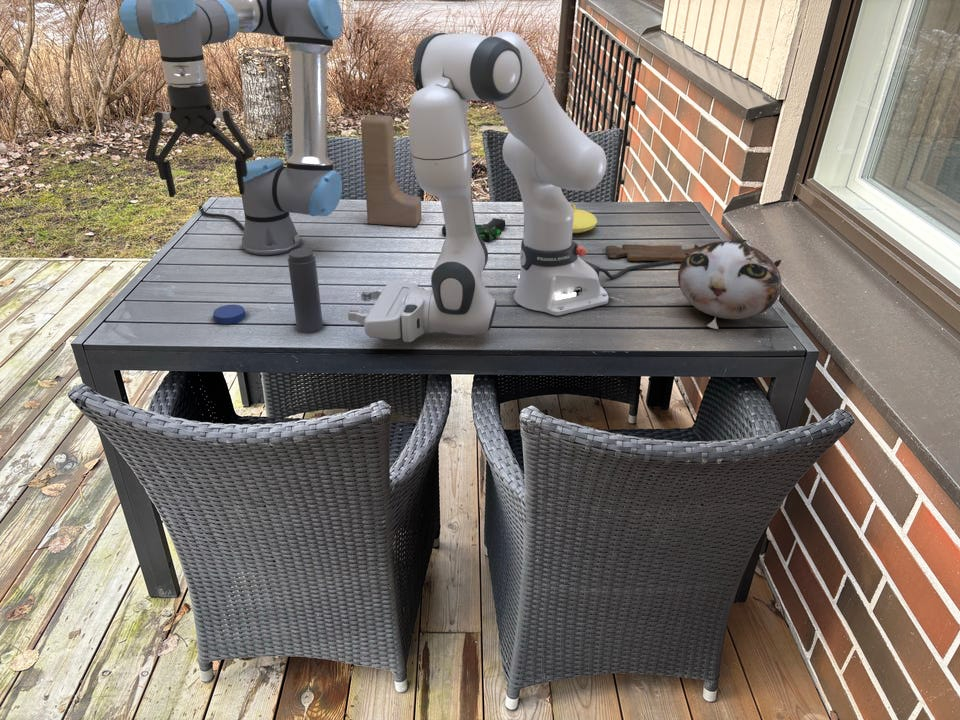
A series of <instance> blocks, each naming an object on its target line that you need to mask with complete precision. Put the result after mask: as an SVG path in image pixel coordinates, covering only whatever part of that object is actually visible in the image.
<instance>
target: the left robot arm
mask: <svg viewBox="0 0 960 720" xmlns="http://www.w3.org/2000/svg"><path fill="white" fill-rule="evenodd" d="M118 15H119V18H120V19H119V20H120V24H121V27H122V29H123V30H124V31H125V33H126V34H127V35H128V36H129V37H131V38H133V39H136V40H137V39H138V40H143V41H157V43H158V48H159V52H160V59H161V65H162V70H163V75H164V81H165V83H167V84H168V86H167V87H166V90H167V95H168V101H169V105H170V106H169V107H170V111H163V110H162V109H158V110H156V111H155V113H154V114H153V117H154V127H153V131H152V133H151V137H150V140H149V144H148V147H147V149H146V150H147V151H146V155H145V160H146V161H147V162H152V163H154V164H156V166H157V170H158V175H159V178H160V180H161V181H165V182H166V183H165V184H166V187H167V191H168V196H169V198H174V197H175V195H176V194H177V191H176V186H175V182H174V177H173V173H172V167H171V161H169V160H166V159H167V158H168V155H169V153H171V150H173V148H174V147H175V145H176V143H177V142H178V140H179V139H180V137H181V136H182V134H185V135H187V136H194V135H198V136H205V135H206V134H209V135H210V136H211V137H212V138H214V139H215V140H216V141H217V142H218V143H219V144H220V145H222V146H223V147H224V148H225V150H227V151H228V152H229V153H230V154H231V155H232V156H233V157H234V158H235V160H234V166H235V172H236V173H235V174H236V179H237V187H238V192H239V195H240V196H241V202H242V208H243V212H244V213H243V215H244V219H245V220H244V226H243V224H242V223H241V222H240V221H239V220H237V219H236V218H235V217H234V216H231V215H229V214H224V213H210V212H206V211H205V210H204V208H202V207H203V205H201V204H200V205H199V206H198V210H199V212H200V213H201V214H202V215H203V216H206V217H211V218H225V219H229V220H231V221H233V223H235V224H236V225H237V226H238V227H239V228H240V229H241V230H242V231H243V235H242V237H241V246H242V249H243V251H244V252H246V253H248V254H252V255H255V256H256V255H257V256H275V255H281V254H282V255H283V254H285V253H289V252H290V251H292V250H294V249H298V247H299V246H300V244H301V241H300V239H301V237H300V234H299V233H298V231H297V229H296V227H295V225H294V223H293V220H292V218H291V216H290V213H292V214H301V215H309V216H312V217H316V216H318V217H326V216H329V215H331V214H333V213H334V211H335V210H336V209H337V207H338V205H339V203H340V200H341V197H342V192H343V181H342V177H341V174H340V173H339V172H338V171H336V170H334V162H333V160H331V159H330V158H329V156H328V54H330V52H331V51H332V50H333V49H334V41H336V40H338V39H339V38H340V37H341V35H342V31H343V23H344V20H343V13H342V9H341V4H340V1H339V0H123V1H122V2H121V4H120V7H119V14H118ZM238 33H241V34H260V35H267V36H273V37H282V38H283V45H284V46H285V47H286V48H287V49H288V51H289V52H290V76H291V77H290V86H291V90H290V91H291V92H290V93H291V133H292V134H291V137H292V138H291V139H292V140H291V141H292V153H291V155H290V156H289V157H288V158H287V159H286V166H284V165H285V162H284V161H283V159H282V158H281V157H264V158H258V159H253V160H250V161H247V160H248V159H251V158H253V157H254V154H255V151H254V149H253V147H252V146H251V144H250V143H249V141H248V140H247V138H246V137H245V135H244V134H243V132H242V131H241V129H240V128H239V127H238V125H237V123H236V122H235V120H234V118H233V115H232V111H231V109H230V108H228V107H226V108H224V109H222V110H215V108H214V106H213V102H212V94H211V89H210V86H209V84H208V83H206V82H207V81H208V80H209V77H208V73H207V72H208V71H207V65H206V61H205V54H204V51H203V50H204V49H203V46H208V45H212V44H217V43H220V44H223V43H225V42H227V41H230V40H233V38H235V37H236V36H237V34H238ZM217 118H218V119H219V120H220V121H221V122H222V123H225V126H226V128H227V129H228V130H229V132H230V133H231V135H232V136H233V137H234V139H235V141H236V142H237V144H238V145H239V147H240V148H241V149H240V148H239V147H238V146H237V145H236V144H235V143H234V142H233V141H232V140H231V139H230V138H229V137H228V136H227V135H225V134H224V133H223V132H222V131H221V130H220V128H219V126H217V125H216V124H215V121H216V119H217ZM168 120H171V121H172V122H173V123H174V125H176V126H177V127H176V128H175V130H174V132H173V133H172V135H171V136H170V138H169V139H168V141H167V142H166V144H165V145H164V147H163V148H162V150H161V151H160V153H159V154H156V152H157V149H158V145H159V142H160V140H161V136H162V133H163V129H164V126H165V125H166V123H167V122H169V121H168ZM201 208H202V209H201ZM200 209H201V210H200Z"/></svg>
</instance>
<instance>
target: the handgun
mask: <svg viewBox="0 0 960 720" xmlns="http://www.w3.org/2000/svg"><path fill="white" fill-rule="evenodd" d="M476 227H477V230H478V232H479V234H480V236H481V238H482V240H483V241H484V242H491V241H492V240H494V239H495V238H497V237H500V236H502V230H504V229H505V228H506V220H505V219H503V218H497V217H492V219H491V220H490V221H489V222H488V223H483V224H482V225H479V224H476ZM441 235H445V236H446V227H445V224H443V226H442V227H441Z"/></svg>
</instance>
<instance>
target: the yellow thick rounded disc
mask: <svg viewBox="0 0 960 720" xmlns="http://www.w3.org/2000/svg"><path fill="white" fill-rule="evenodd" d="M570 205H571V206H572V208H573V212H574V219H573V232H572V234H580V233H584V232H585V233H586V232H587V231H591V230H592V229H594V228H596V226H597V223H598V219H597V217H596V215H595V214H593V213H591V212H589V211H587V210H584V209H578V208H576V205H575V204H571V203H570Z"/></svg>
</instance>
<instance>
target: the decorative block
mask: <svg viewBox="0 0 960 720" xmlns="http://www.w3.org/2000/svg"><path fill="white" fill-rule="evenodd" d="M360 130H361V131H360V132H361V145H362V160H363V174H364V175H363V176H364V188H365V201H366V203H365V204H366V217H367V223H368V224H370V225H382V226H383V225H384V226H385V225H386V226H398V227H400V226H401V227H415V228H416V227H418V225H419V223H420V222H421V220H422V217H423V215H422V198H421V197H420V196H416V195H411V194H406V193H405V192H404V191H402V190H401V188H400V187H399V183H398V181H397V179H396V157H395V137H394V118H393V116H392V115H381V114H379V115H378V114H368V115H366V116H365V117H363V118H362V119H361V120H360Z"/></svg>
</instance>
